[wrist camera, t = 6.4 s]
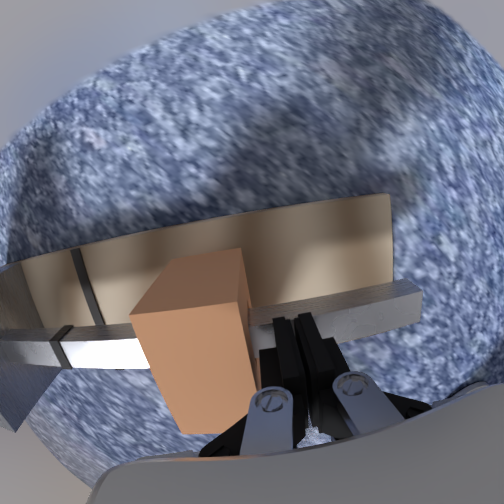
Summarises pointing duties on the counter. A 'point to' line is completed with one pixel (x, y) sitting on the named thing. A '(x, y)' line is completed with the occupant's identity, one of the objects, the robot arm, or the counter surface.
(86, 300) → the base board
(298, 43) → the counter surface
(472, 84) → the counter surface
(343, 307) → the slider rail assembly
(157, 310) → the tan notched block
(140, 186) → the counter surface
